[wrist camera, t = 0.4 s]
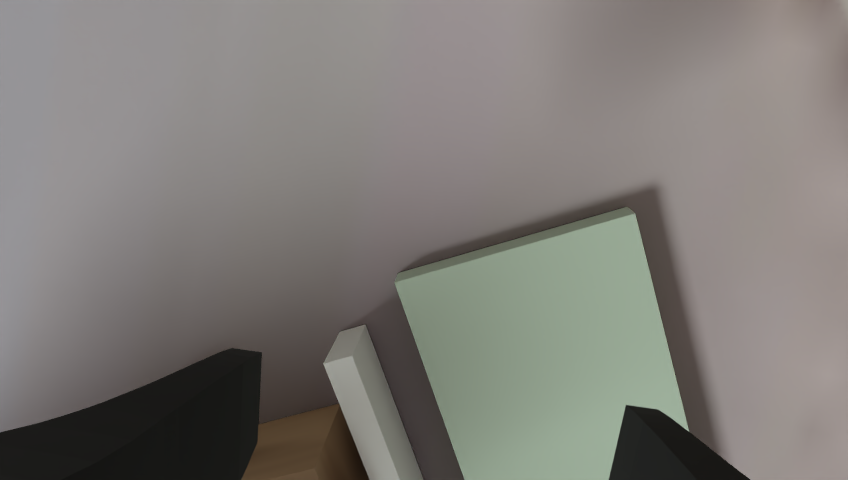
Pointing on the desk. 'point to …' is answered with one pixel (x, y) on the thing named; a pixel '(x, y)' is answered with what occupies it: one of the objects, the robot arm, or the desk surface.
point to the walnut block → (306, 448)
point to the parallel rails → (370, 407)
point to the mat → (543, 348)
